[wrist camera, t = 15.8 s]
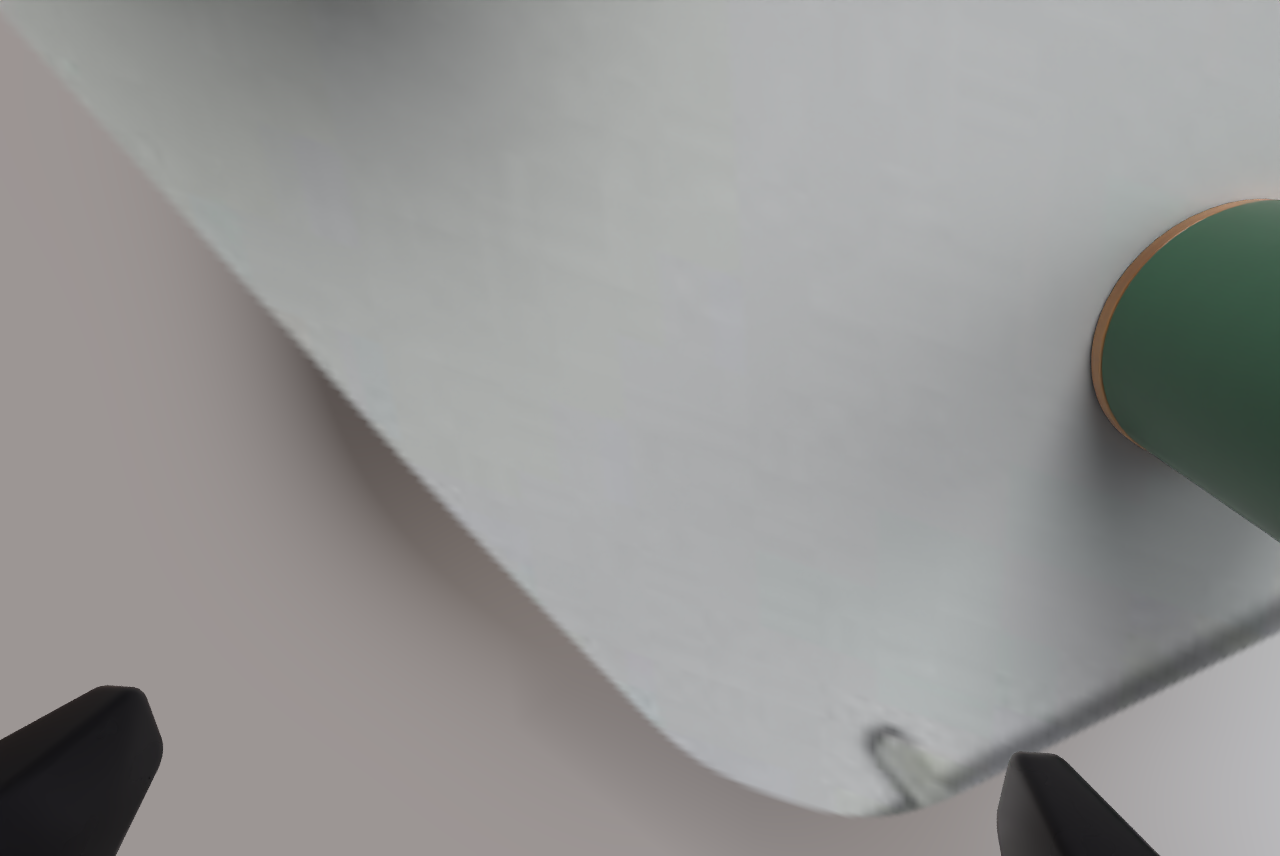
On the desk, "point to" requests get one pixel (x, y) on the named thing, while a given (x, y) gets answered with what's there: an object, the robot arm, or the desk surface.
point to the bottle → (1207, 359)
